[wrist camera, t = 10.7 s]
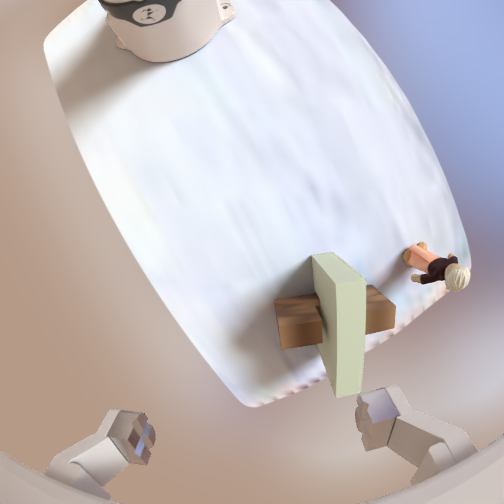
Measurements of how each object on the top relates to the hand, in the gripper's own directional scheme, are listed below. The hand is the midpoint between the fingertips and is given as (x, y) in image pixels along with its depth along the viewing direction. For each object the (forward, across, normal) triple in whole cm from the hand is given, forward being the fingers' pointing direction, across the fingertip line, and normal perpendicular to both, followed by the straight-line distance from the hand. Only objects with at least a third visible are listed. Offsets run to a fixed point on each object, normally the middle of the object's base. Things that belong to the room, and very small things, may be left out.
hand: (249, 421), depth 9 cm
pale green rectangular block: (+28, -9, +9) cm, 30 cm away
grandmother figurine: (+28, -23, +5) cm, 36 cm away
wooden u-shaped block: (+28, -9, +9) cm, 30 cm away
